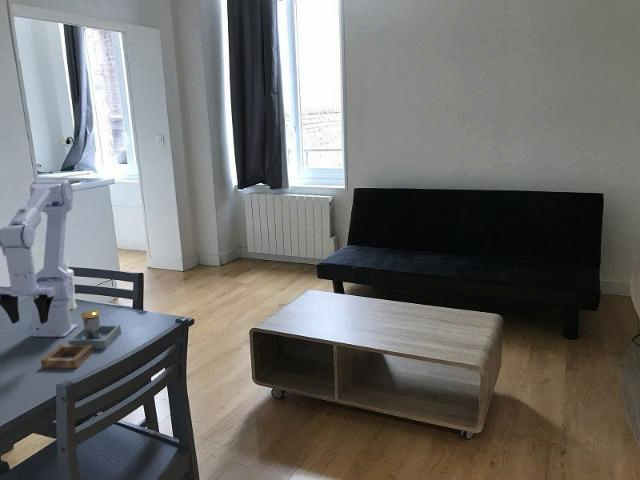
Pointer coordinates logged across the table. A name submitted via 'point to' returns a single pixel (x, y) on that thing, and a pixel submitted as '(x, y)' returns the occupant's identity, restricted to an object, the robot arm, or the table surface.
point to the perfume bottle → (72, 301)
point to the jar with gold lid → (91, 324)
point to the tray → (107, 338)
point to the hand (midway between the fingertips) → (30, 322)
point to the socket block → (56, 362)
